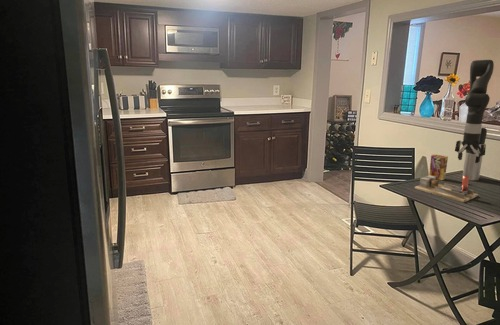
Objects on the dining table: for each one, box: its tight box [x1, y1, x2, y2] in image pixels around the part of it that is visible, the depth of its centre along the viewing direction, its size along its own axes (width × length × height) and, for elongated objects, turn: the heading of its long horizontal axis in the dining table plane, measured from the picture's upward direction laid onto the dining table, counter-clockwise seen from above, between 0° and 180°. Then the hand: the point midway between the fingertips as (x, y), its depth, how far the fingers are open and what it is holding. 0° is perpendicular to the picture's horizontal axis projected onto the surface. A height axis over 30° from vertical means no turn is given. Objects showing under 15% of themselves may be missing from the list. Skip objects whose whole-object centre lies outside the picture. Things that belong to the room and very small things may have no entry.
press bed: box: [414, 174, 479, 203], centre depth 203 cm, size 16×28×6 cm, turn 33°
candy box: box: [428, 153, 449, 181], centre depth 227 cm, size 9×4×15 cm, turn 39°
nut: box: [431, 179, 440, 188], centre depth 209 cm, size 4×4×4 cm
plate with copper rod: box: [451, 175, 471, 196], centre depth 196 cm, size 8×6×11 cm
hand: (468, 161), depth 190 cm, fingers open, 8 cm apart
